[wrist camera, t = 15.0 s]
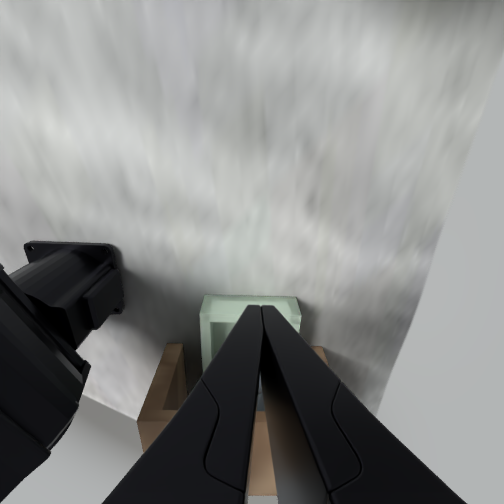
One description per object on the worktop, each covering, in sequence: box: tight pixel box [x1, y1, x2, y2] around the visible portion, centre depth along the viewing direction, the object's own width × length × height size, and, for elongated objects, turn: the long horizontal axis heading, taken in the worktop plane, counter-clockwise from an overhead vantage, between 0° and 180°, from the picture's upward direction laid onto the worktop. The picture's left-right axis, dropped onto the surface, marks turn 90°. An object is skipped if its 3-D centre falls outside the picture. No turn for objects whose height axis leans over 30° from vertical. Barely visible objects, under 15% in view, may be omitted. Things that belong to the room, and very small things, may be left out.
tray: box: [200, 295, 301, 373], centre depth 23 cm, size 8×12×3 cm, turn 178°
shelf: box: [137, 343, 329, 496], centre depth 23 cm, size 15×10×7 cm, turn 87°
